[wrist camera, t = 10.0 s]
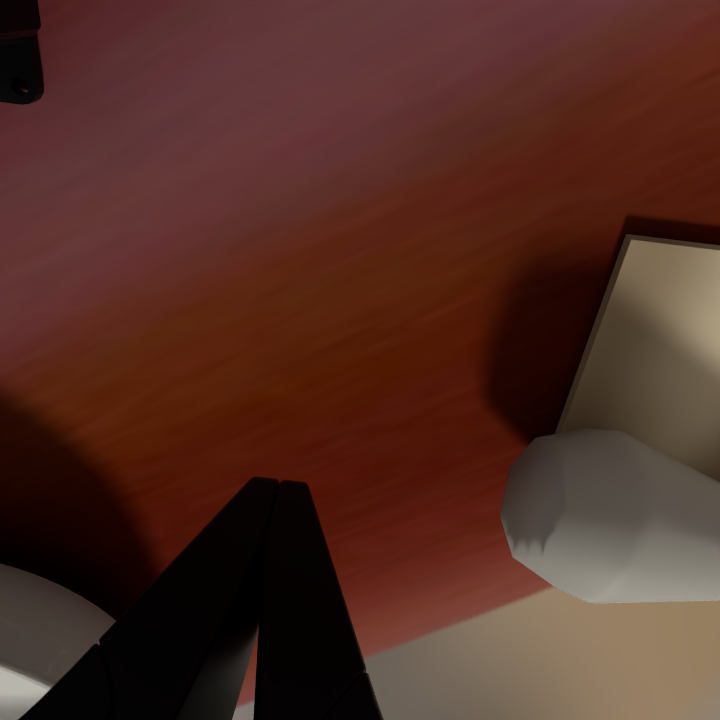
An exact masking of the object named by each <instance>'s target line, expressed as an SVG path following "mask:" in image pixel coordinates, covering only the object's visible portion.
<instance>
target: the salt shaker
mask: <svg viewBox="0 0 720 720" xmlns="http://www.w3.org/2000/svg"><path fill="white" fill-rule="evenodd" d="M500 518H501V521H502V524H503V527H504V531H505V534H506V537H507V540H508V543H509V546H510V549H511V553H512V556H513V557H514V558H515V559H516V560H518V561H519V562H521V563H522V564H523V565H525V566H526V567H528V568H529V569H530V570H532V571H533V572H535V573H536V574H538V575H539V576H540V577H542V578H543V579H545V580H546V581H547V582H549V583H550V584H552V585H553V586H554V587H556V588H558V589H560V590H562V591H564V592H566V593H568V594H570V595H572V596H574V597H576V598H579V599H581V600H584V601H587V602H590V603H628V602H629V603H630V602H672V601H713V600H720V482H718V481H716V480H714V479H712V478H710V477H708V476H706V475H704V474H702V473H700V472H698V471H697V470H695V469H693V468H691V467H689V466H687V465H685V464H683V463H681V462H679V461H677V460H676V459H674V458H672V457H670V456H668V455H666V454H664V453H662V452H660V451H658V450H656V449H654V448H653V447H651V446H649V445H647V444H645V443H643V442H641V441H639V440H637V439H635V438H633V437H631V436H630V435H628V434H626V433H624V432H622V431H613V430H599V429H580V430H574V431H569V432H563V433H558V434H553V435H547V436H542V437H537V438H535V439H534V440H533V441H532V442H531V443H530V445H529V446H528V447H527V448H526V449H525V450H524V451H523V452H522V454H521V455H520V456H519V457H518V458H517V459H516V460H515V462H514V463H513V464H512V465H511V466H510V468H509V473H508V479H507V484H506V489H505V494H504V499H503V504H502V509H501V514H500Z"/></svg>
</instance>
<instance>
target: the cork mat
mask: <svg viewBox="0 0 720 720" xmlns="http://www.w3.org/2000/svg"><path fill="white" fill-rule="evenodd" d="M580 429H599V430H613V431H622V432H624V433H626V434H628V435H630V436H631V437H633V438H635V439H637V440H639V441H641V442H643V443H645V444H647V445H649V446H651V447H653V448H654V449H656V450H658V451H660V452H662V453H664V454H666V455H668V456H670V457H672V458H674V459H676V460H677V461H679V462H681V463H683V464H685V465H687V466H689V467H691V468H693V469H695V470H697V471H698V472H700V473H702V474H704V475H706V476H708V477H710V478H712V479H714V480H716V481H718V482H720V245H712V244H703V243H695V242H687V241H679V240H671V239H663V238H655V237H647V236H639V235H631V234H626V235H625V238H624V241H623V244H622V247H621V249H620V252H619V255H618V258H617V261H616V264H615V266H614V269H613V272H612V275H611V278H610V280H609V283H608V286H607V289H606V292H605V294H604V297H603V300H602V303H601V306H600V308H599V311H598V314H597V317H596V320H595V322H594V325H593V328H592V331H591V334H590V336H589V339H588V342H587V345H586V348H585V350H584V353H583V356H582V359H581V362H580V364H579V367H578V370H577V373H576V376H575V379H574V381H573V384H572V387H571V390H570V393H569V395H568V398H567V401H566V404H565V407H564V409H563V412H562V415H561V418H560V421H559V423H558V426H557V429H556V432H555V434H558V433H563V432H569V431H574V430H580Z"/></svg>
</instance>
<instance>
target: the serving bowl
mask: <svg viewBox="0 0 720 720" xmlns="http://www.w3.org/2000/svg"><path fill="white" fill-rule="evenodd" d="M115 622H116V620H115V619H113V618H112V617H111V616H109V615H108V614H107V613H106V612H104V611H103V610H102V609H100V608H99V607H97V606H96V605H94V604H93V603H91V602H89V601H88V600H86V599H85V598H83V597H82V596H80V595H78V594H76V593H74V592H72V591H70V590H68V589H67V588H65V587H63V586H61V585H59V584H56V583H54V582H52V581H50V580H47V579H45V578H42V577H40V576H37V575H35V574H32V573H29V572H26V571H23V570H20V569H17V568H14V567H11V566H7V565H4V564H0V720H18V719H19V718H20V717H21V716H23V715H24V714H25V713H26V712H27V711H28V710H29V709H30V708H31V707H32V706H33V705H35V704H36V703H37V702H38V701H39V700H40V699H41V698H42V697H43V696H44V695H45V694H46V693H47V692H48V691H49V690H50V689H51V688H52V687H53V686H54V685H55V684H56V683H57V682H58V681H59V680H60V679H61V678H62V677H63V676H64V675H65V674H66V673H67V672H68V671H69V670H70V669H71V668H72V667H73V666H74V665H75V664H76V663H77V661H78V660H79V659H80V658H81V657H82V656H83V655H84V654H85V653H86V652H87V651H88V650H89V649H90V648H91V647H92V645H94V644H99V639H100V637H101V636H102V635H103V634H104V633H105V632H106V631H107V630H108V629H109V628H110V627H111V626H112V625H113V624H114V623H115Z"/></svg>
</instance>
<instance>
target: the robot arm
mask: <svg viewBox="0 0 720 720" xmlns="http://www.w3.org/2000/svg"><path fill="white" fill-rule="evenodd" d="M40 27H41V22H40V15H39V8H38V2H37V0H0V102H6V103H14V104H22V105H23V104H30V103H33V102H36V101H37V100H39V99H41V97H42V95H43V93H44V83H43V77H42V70H41V63H40V57H39V50H38V43H37V36H36V33H37V31H38V30H39V29H40ZM19 76H20V77H22V78H23V79H24V80H25V81H26V82H27V85H28V92H27V93H26V92H23V91H22V90H21V89H20V88H19V86H18V83H17V78H18V77H19ZM258 630H259V633H258ZM257 634H258V651H257V668H256V686H255V703H254V720H383V717H382V714H381V711H380V708H379V705H378V703H377V700H376V696H375V694H374V690H373V687H372V684H371V681H370V678H369V675H368V674H367V673H366V666H365V663H364V660H363V657H362V653H361V650H360V647H359V644H358V641H357V638H356V634H355V631H354V628H353V625H352V622H351V619H350V616H349V612H348V609H347V606H346V603H345V600H344V597H343V594H342V590H341V587H340V584H339V581H338V578H337V575H336V571H335V568H334V565H333V562H332V559H331V556H330V553H329V549H328V546H327V543H326V540H325V537H324V534H323V531H322V527H321V524H320V521H319V518H318V515H317V512H316V508H315V505H314V502H313V499H312V496H311V493H310V490H309V487H308V485H307V484H306V483H305V482H299V481H291V480H283V481H281V482H280V483H279V481H278V480H277V479H273V478H264V477H253V478H251V479H250V480H249V481H248V482H247V483H246V484H245V485H244V486H243V487H242V488H241V489H240V490H239V492H238V493H237V494H236V495H235V496H234V497H233V498H232V499H231V500H230V501H229V502H228V503H227V504H226V505H225V506H224V507H223V508H222V509H221V511H220V512H219V513H218V514H217V515H216V516H215V517H214V518H213V519H212V520H211V521H210V522H209V523H208V524H207V525H206V526H205V527H204V529H203V530H202V531H201V532H200V533H199V534H198V535H197V536H196V537H195V538H194V539H193V540H192V541H191V542H190V543H189V544H188V545H187V546H186V548H185V549H184V550H183V551H182V552H181V553H180V554H179V555H178V556H177V557H176V558H175V559H174V560H173V561H172V562H171V563H170V564H169V566H168V567H167V568H166V569H165V570H164V571H163V572H162V573H161V574H160V575H159V576H158V577H157V578H156V579H155V580H154V581H153V582H152V583H151V585H150V586H149V587H148V588H147V589H146V590H145V591H144V592H143V593H142V594H141V595H140V596H139V597H138V598H137V599H136V600H135V601H134V603H133V604H132V605H131V606H130V607H129V608H128V609H127V610H126V611H125V612H124V613H123V614H122V615H121V616H120V617H119V618H118V619H117V621H116V622H115V623H114V624H113V625H112V626H111V627H110V628H109V629H108V630H107V631H106V632H105V633H104V634H103V635H102V636H101V637H100V639H99V644H94V645H92V647H91V648H90V649H89V650H88V651H87V652H86V653H85V654H84V655H83V656H82V657H81V658H80V659H79V660H78V661H77V663H76V664H75V665H74V666H73V667H72V668H71V669H70V670H69V671H68V672H67V673H66V674H65V675H64V676H63V677H62V678H61V679H60V680H59V681H58V682H57V683H56V684H55V685H54V686H53V687H52V688H51V689H50V690H49V691H48V692H47V693H46V694H45V695H44V696H43V697H42V698H41V699H40V700H39V701H38V702H37V703H36V704H35V705H33V706H32V707H31V708H30V709H29V710H28V711H27V712H26V713H25V714H24V715H23V716H21V717H20V718H19V719H18V720H232V718H233V715H234V711H235V708H236V705H237V701H238V698H239V695H240V691H241V688H242V685H243V681H244V678H245V675H246V671H247V668H248V665H249V661H250V658H251V655H252V651H253V648H254V644H255V641H256V637H257Z"/></svg>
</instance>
